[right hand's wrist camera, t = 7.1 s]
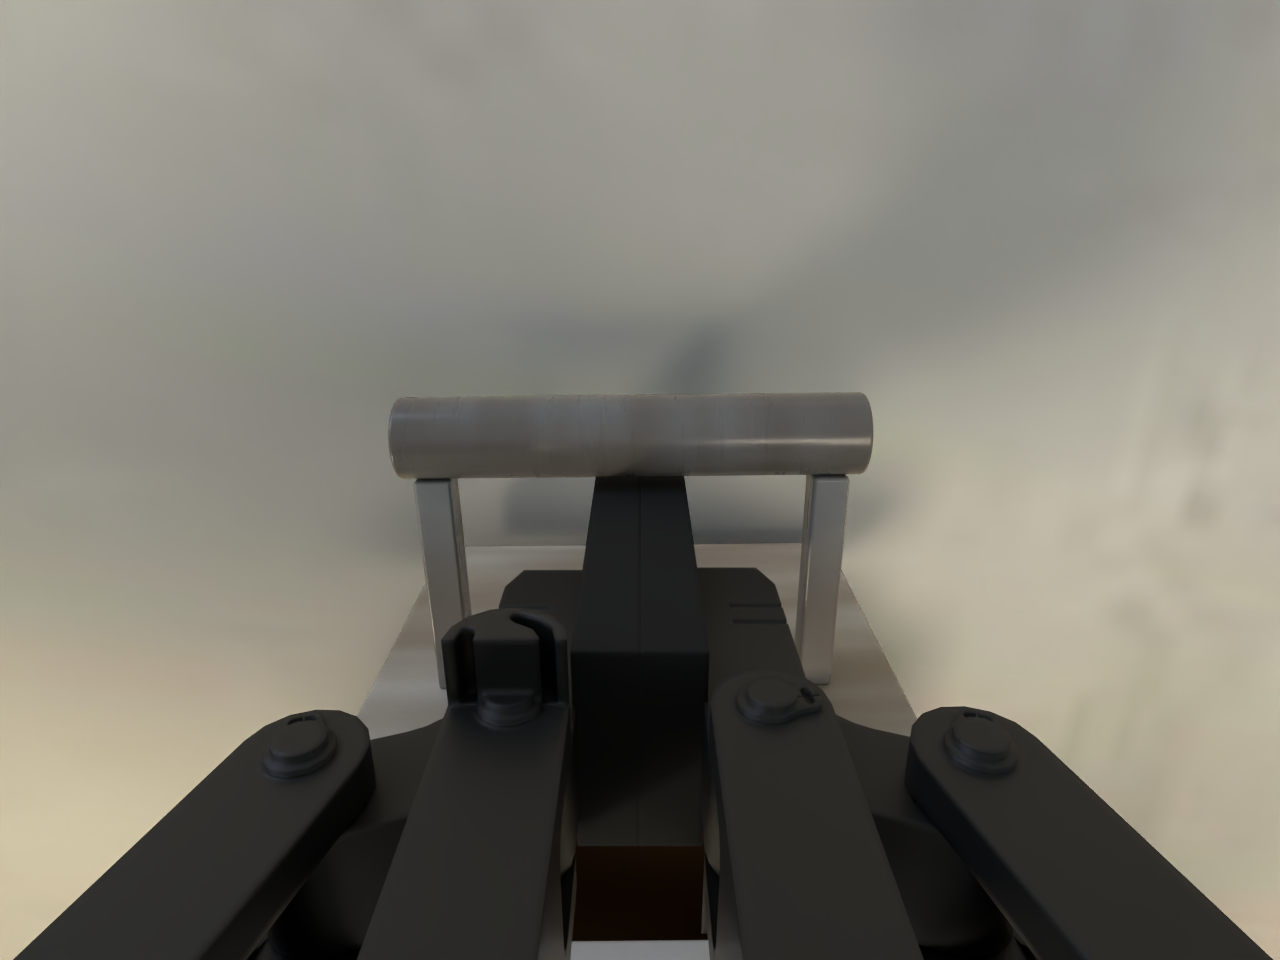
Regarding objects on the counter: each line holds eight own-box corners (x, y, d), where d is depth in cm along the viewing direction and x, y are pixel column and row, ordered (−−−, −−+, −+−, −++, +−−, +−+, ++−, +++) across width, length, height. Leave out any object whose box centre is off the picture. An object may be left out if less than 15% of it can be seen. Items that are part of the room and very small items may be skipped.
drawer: (419, 332, 18) (278, 436, 11) (846, 327, 18) (980, 428, 11) (496, 1012, 26) (445, 1317, 19) (787, 1009, 26) (841, 1313, 19)
